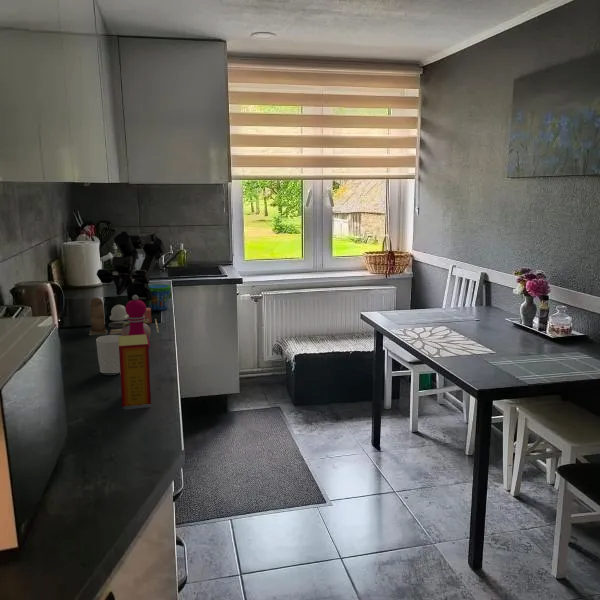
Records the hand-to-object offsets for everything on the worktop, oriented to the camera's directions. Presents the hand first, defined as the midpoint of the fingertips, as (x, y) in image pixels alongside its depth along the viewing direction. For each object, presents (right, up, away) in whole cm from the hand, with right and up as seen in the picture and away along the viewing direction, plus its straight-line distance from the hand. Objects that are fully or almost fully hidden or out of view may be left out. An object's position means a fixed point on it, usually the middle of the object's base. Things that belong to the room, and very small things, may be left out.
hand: (118, 294), depth 199 cm
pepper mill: (+18, -20, -34) cm, 43 cm away
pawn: (-4, -13, -8) cm, 16 cm away
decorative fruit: (+14, -18, -23) cm, 32 cm away
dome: (0, -9, +2) cm, 9 cm away
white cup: (+14, -23, -46) cm, 54 cm away
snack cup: (+6, -6, +36) cm, 36 cm away
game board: (+2, -13, 0) cm, 13 cm away
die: (+8, -10, +8) cm, 15 cm away
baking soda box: (+27, -27, -67) cm, 77 cm away
